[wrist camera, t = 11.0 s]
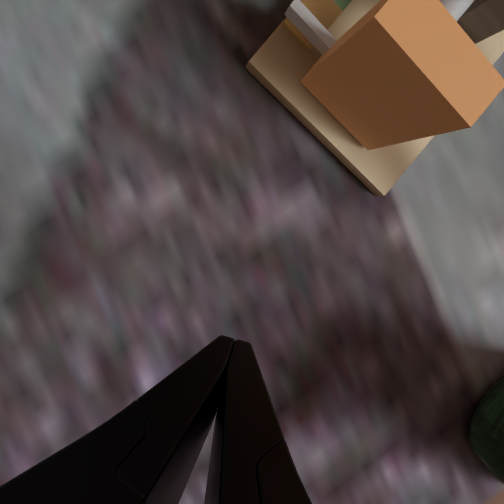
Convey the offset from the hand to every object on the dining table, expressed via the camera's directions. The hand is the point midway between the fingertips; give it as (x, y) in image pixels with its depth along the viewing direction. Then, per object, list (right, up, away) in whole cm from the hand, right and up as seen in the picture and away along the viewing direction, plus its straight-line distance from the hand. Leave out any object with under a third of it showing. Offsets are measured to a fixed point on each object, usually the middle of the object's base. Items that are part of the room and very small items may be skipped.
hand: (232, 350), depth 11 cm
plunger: (+7, +14, +10) cm, 18 cm away
